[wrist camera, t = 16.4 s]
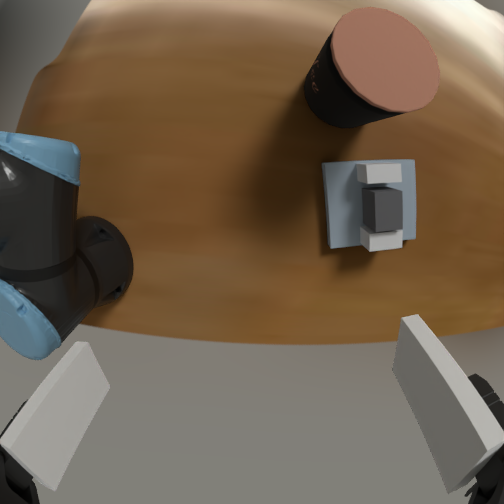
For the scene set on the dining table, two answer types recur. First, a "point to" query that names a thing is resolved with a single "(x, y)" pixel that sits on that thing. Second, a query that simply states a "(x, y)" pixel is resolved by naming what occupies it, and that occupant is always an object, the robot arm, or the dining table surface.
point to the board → (350, 201)
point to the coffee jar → (371, 70)
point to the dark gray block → (382, 208)
